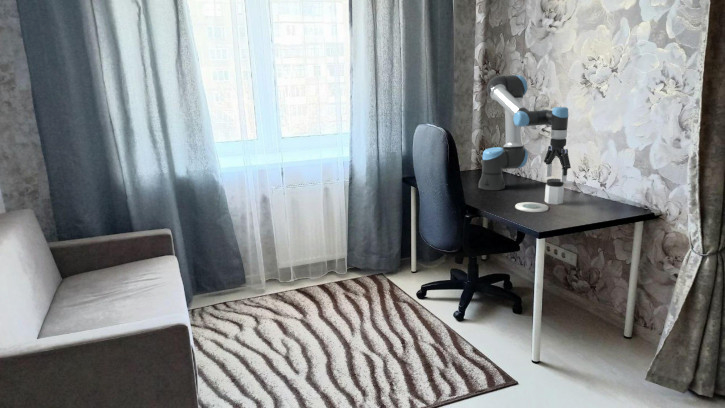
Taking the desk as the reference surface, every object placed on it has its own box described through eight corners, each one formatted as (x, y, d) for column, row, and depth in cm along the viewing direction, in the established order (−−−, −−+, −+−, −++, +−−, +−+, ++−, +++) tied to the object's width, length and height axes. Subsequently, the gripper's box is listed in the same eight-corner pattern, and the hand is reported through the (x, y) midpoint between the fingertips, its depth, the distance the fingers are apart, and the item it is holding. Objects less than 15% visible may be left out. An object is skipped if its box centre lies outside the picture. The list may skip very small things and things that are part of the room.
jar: (554, 205, 253) (556, 182, 250) (541, 202, 260) (543, 180, 257) (565, 202, 258) (567, 180, 255) (552, 199, 265) (553, 177, 261)
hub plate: (509, 205, 257) (509, 203, 256) (537, 202, 259) (537, 201, 259) (525, 213, 241) (525, 211, 241) (554, 210, 244) (554, 209, 244)
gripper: (538, 135, 261) (536, 175, 266) (566, 141, 237) (563, 184, 243) (551, 135, 262) (549, 174, 268) (580, 140, 239) (576, 183, 244)
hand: (555, 179), depth 255 cm, fingers open, 13 cm apart
